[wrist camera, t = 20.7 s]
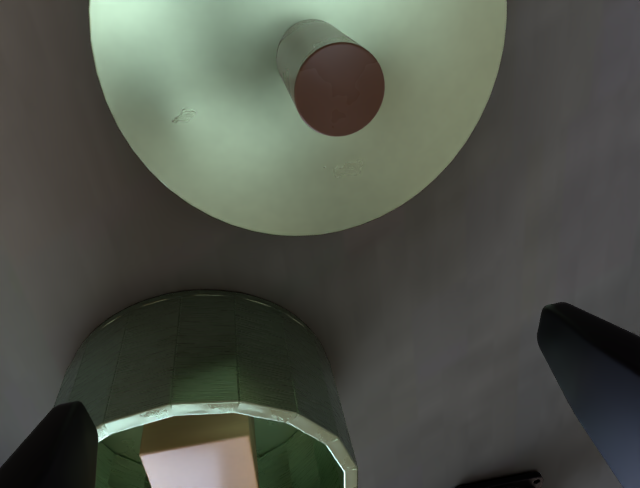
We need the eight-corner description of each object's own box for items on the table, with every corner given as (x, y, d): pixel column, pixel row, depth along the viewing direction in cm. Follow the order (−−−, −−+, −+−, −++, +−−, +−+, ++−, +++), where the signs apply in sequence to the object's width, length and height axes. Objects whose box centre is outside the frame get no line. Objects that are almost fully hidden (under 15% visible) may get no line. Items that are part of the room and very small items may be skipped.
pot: (325, 270, 22) (359, 374, 17) (331, 449, 29) (356, 563, 24) (26, 309, 21) (-41, 438, 15) (107, 489, 27) (80, 622, 22)
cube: (244, 358, 24) (249, 435, 20) (254, 419, 26) (260, 497, 22) (150, 373, 23) (138, 454, 19) (169, 433, 25) (161, 516, 22)
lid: (525, -209, 15) (672, -281, 10) (466, 205, 22) (534, 276, 17) (32, -212, 13) (-76, -304, 8) (147, 241, 20) (126, 333, 15)
